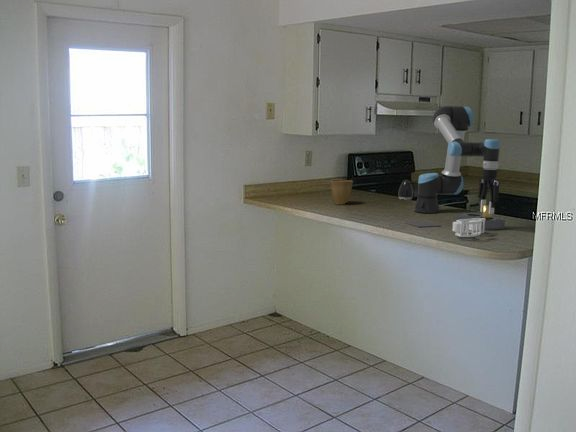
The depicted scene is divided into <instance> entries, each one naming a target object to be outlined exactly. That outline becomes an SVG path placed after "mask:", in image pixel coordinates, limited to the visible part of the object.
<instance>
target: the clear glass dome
mask: <svg viewBox="0 0 576 432" xmlns="http://www.w3.org/2000/svg"><path fill="white" fill-rule="evenodd" d="M412 183H413V181H410V180H408V179H404V180H403V181H402V182H401V184H400V186H399V189H398V194H397V197H398V199H399V200H401V199H404V200H405V201H409V200H410V201H411V200H412V199H413V197H414V195H413V194H414V191H413V186H412Z"/></svg>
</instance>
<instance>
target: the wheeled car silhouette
mask: <svg viewBox="0 0 576 432" xmlns="http://www.w3.org/2000/svg"><path fill="white" fill-rule="evenodd" d="M464 221H466V222H464ZM468 221H469V222H468ZM482 221H483V230H482V229H481V226H482ZM465 224H466V225H465ZM484 227H485V218H472V219H460V220H456V219H455V221H453V222H452V232H455V234H454V235H455V236H456V237H457V236H458V237H459V238H474V237H479V236H480V235H482V234H485V230H484Z"/></svg>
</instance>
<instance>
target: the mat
mask: <svg viewBox="0 0 576 432" xmlns="http://www.w3.org/2000/svg"><path fill="white" fill-rule="evenodd" d="M404 224H406V225H409V226H413V227H416V228H436V227H438V228H439V227H442V225H441V224H437V223H434V222H430V221H427V220H425V221H424V220H423V221H405V222H404Z"/></svg>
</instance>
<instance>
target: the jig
mask: <svg viewBox="0 0 576 432" xmlns="http://www.w3.org/2000/svg"><path fill="white" fill-rule="evenodd" d="M472 218H482V213H479V212H478V213H477V212H470V213H469V212H467V213H465V212H464V213H456V215H455V221H456V220H460V219H472ZM464 222H466V221H464ZM468 222H469V221H468ZM465 226H466V224H465ZM505 226H506V219H504V218H500V217H495V216H492V219H485V227H484V231H493V230H494V231H495V230H505ZM481 230H483V221H482V226H481Z"/></svg>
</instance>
